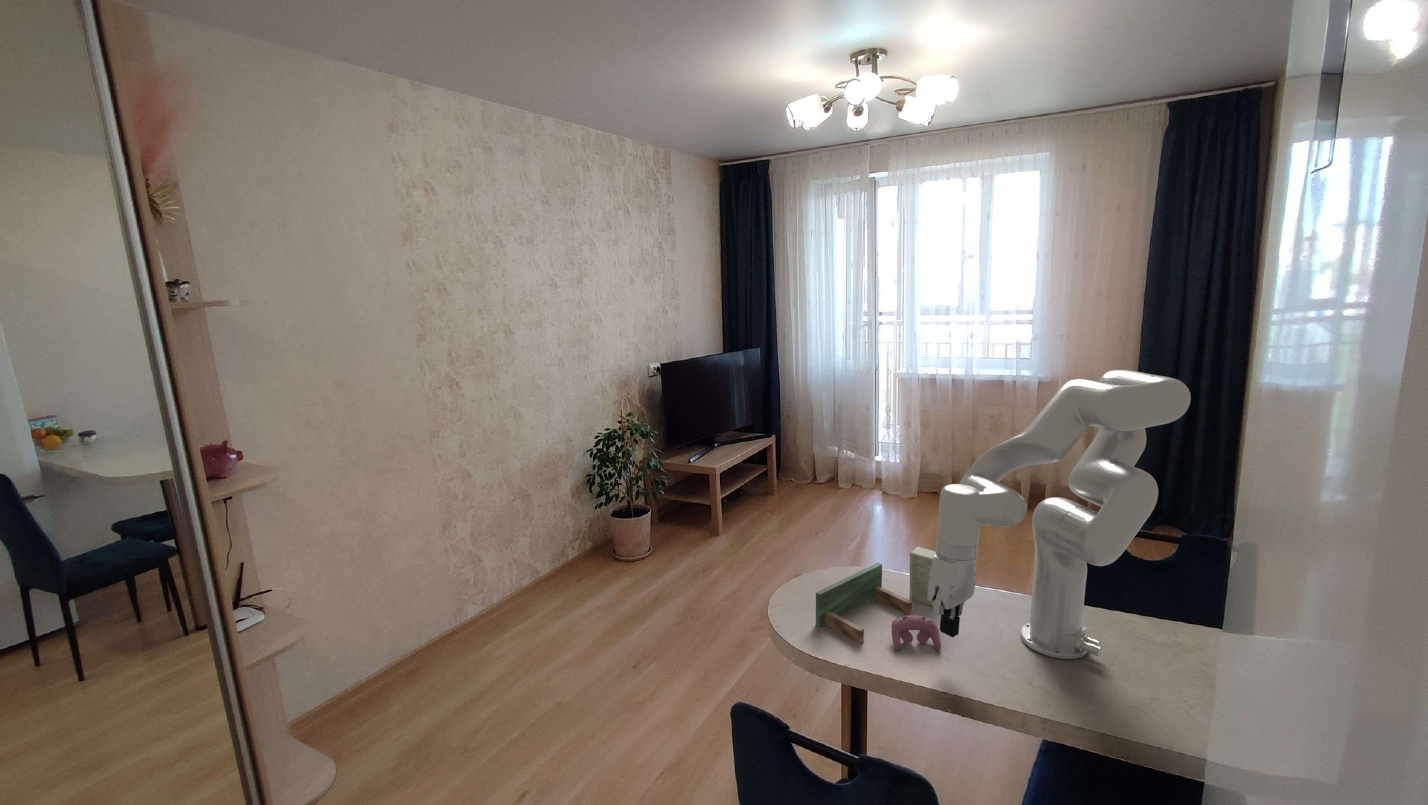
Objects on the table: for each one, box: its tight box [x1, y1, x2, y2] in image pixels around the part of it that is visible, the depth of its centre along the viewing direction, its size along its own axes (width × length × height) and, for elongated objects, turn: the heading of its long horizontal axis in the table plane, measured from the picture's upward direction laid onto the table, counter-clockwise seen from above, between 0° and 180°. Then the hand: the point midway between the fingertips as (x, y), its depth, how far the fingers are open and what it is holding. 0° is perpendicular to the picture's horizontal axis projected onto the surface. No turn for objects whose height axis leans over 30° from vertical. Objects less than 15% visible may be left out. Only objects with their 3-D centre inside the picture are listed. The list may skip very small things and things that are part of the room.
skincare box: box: [909, 546, 936, 607], centre depth 150 cm, size 6×4×12 cm
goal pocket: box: [815, 562, 913, 644], centre depth 143 cm, size 11×22×8 cm, turn 128°
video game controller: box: [891, 614, 942, 652], centre depth 133 cm, size 10×5×7 cm, turn 85°
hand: (948, 633), depth 126 cm, fingers closed
